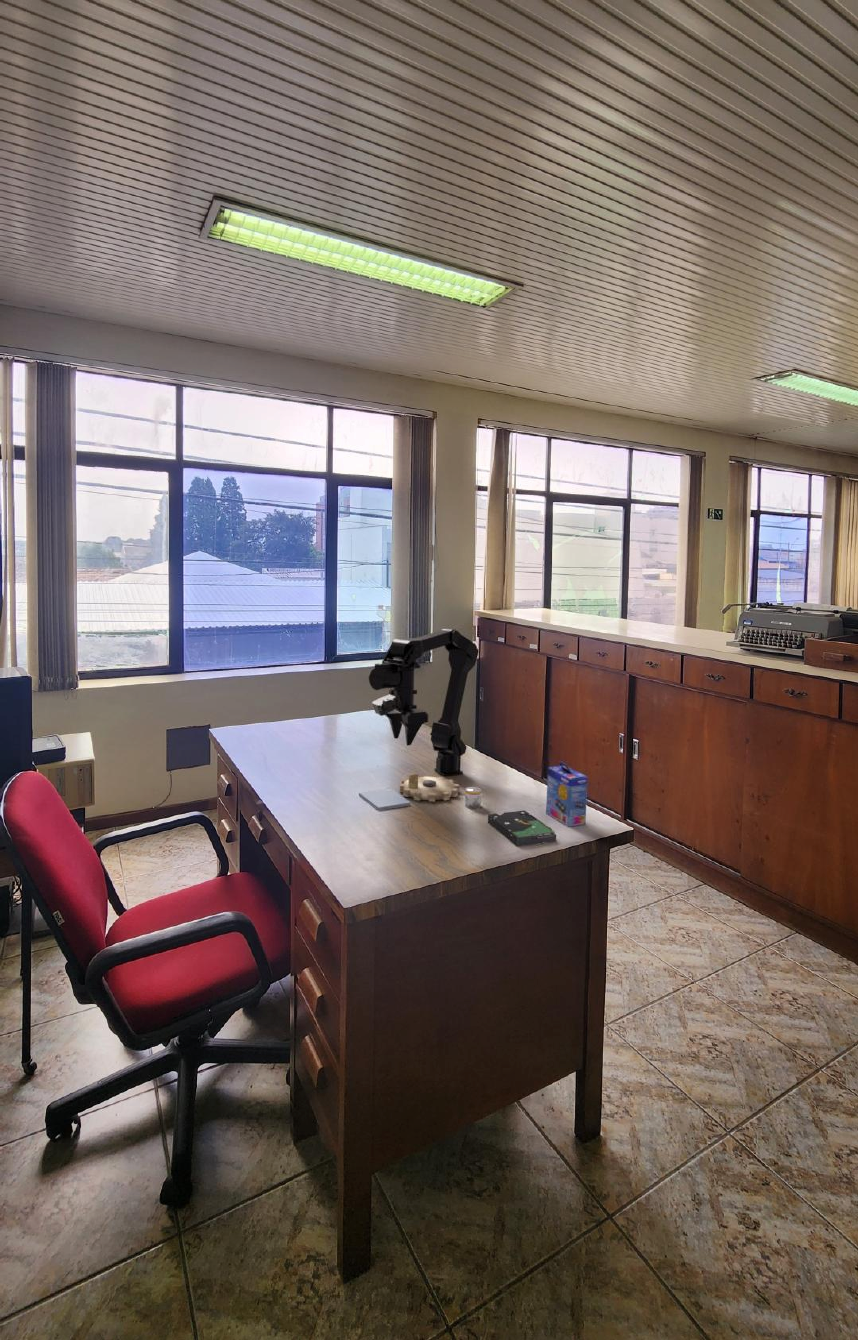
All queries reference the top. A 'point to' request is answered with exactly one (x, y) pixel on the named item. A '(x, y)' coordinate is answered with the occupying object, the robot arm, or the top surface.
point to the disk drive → (521, 828)
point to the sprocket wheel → (428, 788)
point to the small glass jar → (473, 797)
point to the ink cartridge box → (566, 795)
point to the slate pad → (384, 799)
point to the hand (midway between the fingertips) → (402, 741)
